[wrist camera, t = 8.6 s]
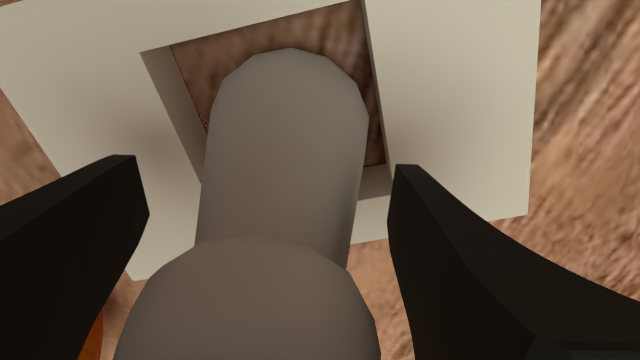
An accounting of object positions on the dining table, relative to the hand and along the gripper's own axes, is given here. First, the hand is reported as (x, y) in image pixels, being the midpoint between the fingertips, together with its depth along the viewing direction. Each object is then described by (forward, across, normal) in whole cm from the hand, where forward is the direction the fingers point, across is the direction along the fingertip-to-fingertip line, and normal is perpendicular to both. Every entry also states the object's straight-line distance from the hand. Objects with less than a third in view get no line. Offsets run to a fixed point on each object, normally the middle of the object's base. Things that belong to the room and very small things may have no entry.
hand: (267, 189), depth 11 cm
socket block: (+6, 0, 0) cm, 6 cm away
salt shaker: (+7, 0, 0) cm, 7 cm away
